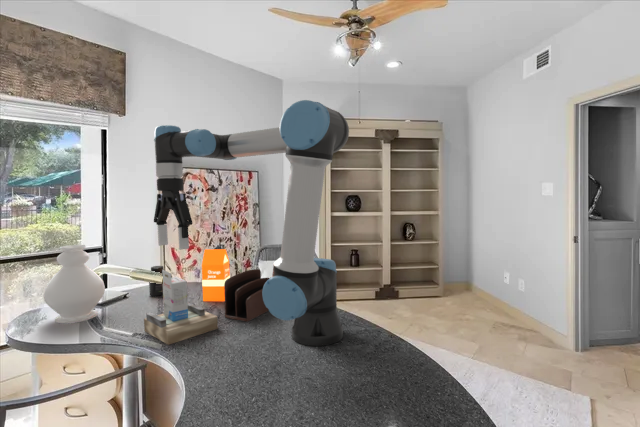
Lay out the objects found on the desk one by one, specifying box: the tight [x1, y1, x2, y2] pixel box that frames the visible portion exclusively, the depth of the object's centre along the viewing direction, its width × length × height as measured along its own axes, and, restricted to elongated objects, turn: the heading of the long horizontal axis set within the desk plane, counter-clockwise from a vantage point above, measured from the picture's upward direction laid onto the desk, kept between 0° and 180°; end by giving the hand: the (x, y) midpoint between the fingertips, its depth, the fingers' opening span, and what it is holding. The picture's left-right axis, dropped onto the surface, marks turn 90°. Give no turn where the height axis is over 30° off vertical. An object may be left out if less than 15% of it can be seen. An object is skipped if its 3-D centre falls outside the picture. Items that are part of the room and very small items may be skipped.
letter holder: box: [224, 268, 270, 322], centre depth 133 cm, size 10×20×14 cm, turn 152°
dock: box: [143, 302, 219, 346], centre depth 116 cm, size 16×16×6 cm
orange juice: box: [201, 248, 231, 302], centre depth 149 cm, size 8×9×20 cm
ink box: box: [162, 270, 189, 321], centre depth 116 cm, size 8×5×15 cm, turn 41°
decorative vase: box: [43, 244, 106, 325], centre depth 129 cm, size 18×18×25 cm
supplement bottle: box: [148, 265, 165, 298], centre depth 156 cm, size 7×7×12 cm
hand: (173, 247), depth 115 cm, fingers open, 13 cm apart
